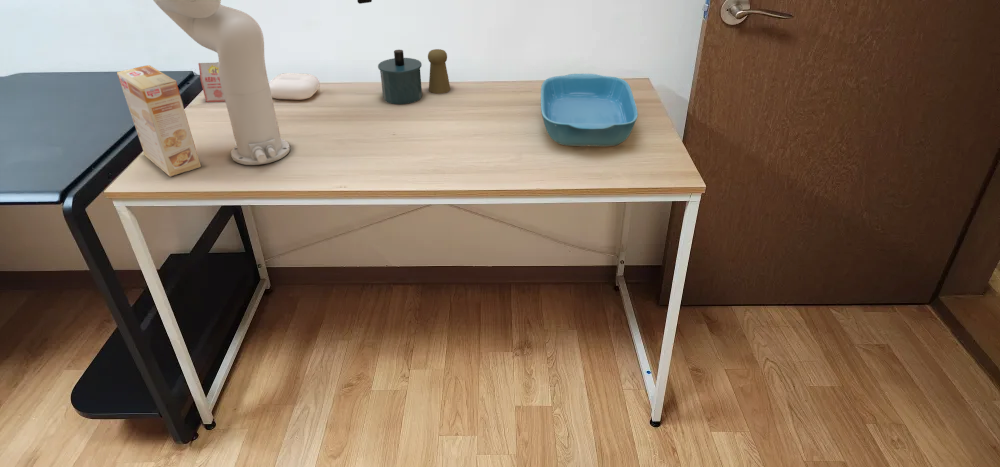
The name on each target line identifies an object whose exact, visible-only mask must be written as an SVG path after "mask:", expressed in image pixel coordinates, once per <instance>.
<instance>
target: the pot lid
mask: <svg viewBox="0 0 1000 467" xmlns="http://www.w3.org/2000/svg"><path fill="white" fill-rule="evenodd" d="M393 57H394V58H388V59H385V60H382V61H381V62H379V63H378V64H377V69H378V70H379V72H380V71H382V72H386V73H394V74H399V73H408V72H413V71H416V70H418V69H419V68H420V69H421V68H422V62H421V61H420V60H419V59H416V58H412V57H405V56H404V50H403V49H395V50H394V51H393Z"/></svg>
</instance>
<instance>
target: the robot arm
mask: <svg viewBox="0 0 1000 467" xmlns="http://www.w3.org/2000/svg"><path fill="white" fill-rule="evenodd" d="M153 2H154V3H155V4H156V6H157V7H158V8H159V9H160V10H161V11H162V12H163V13H164V14H165V15H167V17H168V18H170V19H171V20H172V21H173V23H175V24H176V25H177V26H178V27H179V28H180V29H181V30H182V31H183V32H184V33H186V34H187V35H188V36H189V37H190V38H191V40H193V41H194V42H196V44H198V45H200V46H201V47H204V48H205V49H208V50H210V51H212V52H215V53H217V57H218V62H219V78H220V83H221V87H222V91H223V94H224V98H225V101H224V103H225V106H226V110H227V115H228V118H229V121H230V125H231V130H232V133H233V137H234V141H235V146H234V147H233V148H232V149H231V151H230V156H231V159H232V161H234V162H235V163H237V164H240V165H245V166H259V165H267V164H270V163H273V162H277V161H279V160H281V159H283V158H284V157H286V156H287V155H288V154H289V153H290V151H291V146H290V143H289V141H287V140H286V139H284V138H281V133H280V129H279V124H278V119H277V115H276V111H275V105H274V101H273V97H272V95H271V91H270V86H269V82H270V81H269V77H268V72H267V68H266V59H265V38H264V33H263V31H262V28H261V26H260V25H259V23H258V21H257V20H256V19H254V18H253V17H252V16H251V15H250V14H248V13H247V12H244V11H242V10H240V9H236V8H233V7H230V6H225V5H223V4H221V2H222V0H153ZM372 2H373V0H357V4H359V5H361V4H368V3H372Z"/></svg>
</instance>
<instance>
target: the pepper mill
mask: <svg viewBox="0 0 1000 467" xmlns="http://www.w3.org/2000/svg"><path fill="white" fill-rule="evenodd" d="M427 59H428V62H429V77H428V78H429V79H428V92H429V93H432V94H438V95H439V94H447V93H448V92H450V91H451V86H450V85H451V84H450V81H449V80H450V79H449V74H448V68H447V60H448V54H447V52H446V50H444V49H442V48H441V49H440V48H435V49H431V50H430V51H428V54H427Z"/></svg>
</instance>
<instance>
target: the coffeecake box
mask: <svg viewBox="0 0 1000 467" xmlns="http://www.w3.org/2000/svg"><path fill="white" fill-rule="evenodd" d="M116 75H117V77H118V81H119V83H120V86H121V89H122V92H123V95H124V98H125V101H126V104H127V107H128V110H129V113H130V116H131V119H132V122H133V125H134V127H135V130H136V133H137V137H138V140H139V142H140V145H141V148H142V152H143V154H144V156H145V157H146V158H147V159H148V160H149V161H150V162H152V163H153V164H154V165H155V166H156V167H157V168H159V169H160V170H162V171H163V173H165V174H166V175H167V176H168V177H173V176H177V175H179V174H183V173H186V172H189V171H193V170H196V169H199V168H202V165H201V162H200V159H199V155H198V152H197V148H196V145H195V142H194V139H193V135H192V131H191V128H190V124H189V121H188V118H187V113H186V111H185V107H184V103H183V100H182V96H181V93H180V89H179V87H178V82H177V80H175V79H174V78H172V77H170V76H169V75H167V74H165V73H164V72H162V71H160V70H158V69H157V68H155V67H153V66H152V65H149V64H148V65H143V66H138V67H133V68H130V69H125V70H120V71H117V72H116Z"/></svg>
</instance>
